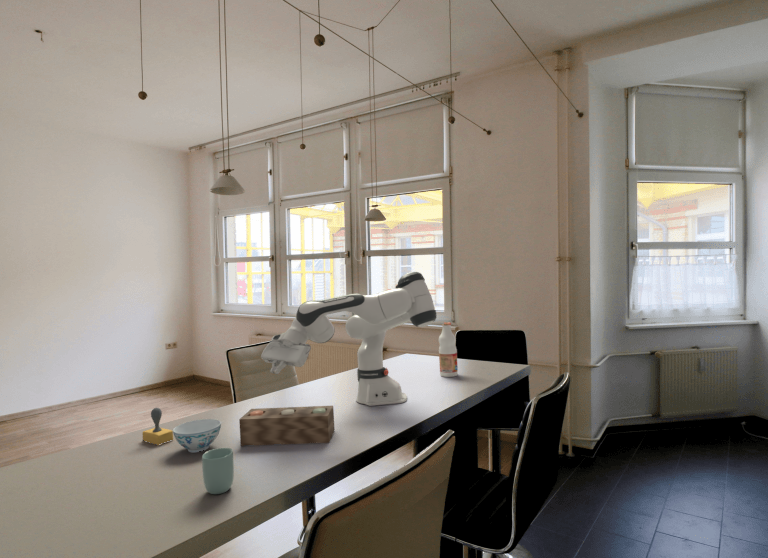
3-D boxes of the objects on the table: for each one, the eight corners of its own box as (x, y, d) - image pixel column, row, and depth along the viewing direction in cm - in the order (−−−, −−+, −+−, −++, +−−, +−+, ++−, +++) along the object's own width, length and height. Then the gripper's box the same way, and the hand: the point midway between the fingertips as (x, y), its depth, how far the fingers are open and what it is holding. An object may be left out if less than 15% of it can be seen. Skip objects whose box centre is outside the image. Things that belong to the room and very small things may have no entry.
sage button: (326, 417, 159) (326, 407, 159) (324, 421, 155) (324, 411, 155) (314, 417, 160) (314, 408, 160) (312, 421, 155) (311, 412, 155)
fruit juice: (437, 374, 245) (435, 322, 244) (454, 372, 246) (451, 321, 246) (443, 378, 235) (440, 324, 235) (460, 376, 237) (457, 323, 237)
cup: (208, 485, 124) (206, 449, 124) (238, 482, 125) (236, 446, 124) (199, 499, 116) (197, 460, 116) (230, 496, 117) (228, 457, 117)
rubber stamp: (142, 441, 162) (140, 408, 162) (157, 436, 167) (156, 404, 167) (158, 446, 157) (156, 411, 157) (173, 440, 162) (171, 407, 162)
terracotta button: (265, 419, 160) (264, 410, 160) (261, 423, 156) (260, 414, 156) (253, 420, 161) (252, 410, 161) (248, 424, 156) (248, 414, 156)
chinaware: (175, 461, 142) (174, 437, 142) (173, 446, 155) (171, 424, 155) (225, 450, 149) (224, 427, 149) (219, 437, 162) (218, 416, 162)
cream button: (296, 418, 160) (295, 409, 160) (293, 422, 156) (292, 412, 156) (283, 419, 160) (283, 409, 160) (280, 423, 156) (279, 413, 156)
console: (334, 430, 163) (333, 405, 163) (329, 442, 151) (327, 415, 151) (252, 433, 165) (251, 408, 164) (240, 445, 153) (239, 419, 152)
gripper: (316, 349, 171) (298, 381, 163) (278, 345, 182) (259, 374, 174) (308, 339, 167) (289, 370, 159) (269, 335, 178) (250, 364, 170)
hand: (273, 372), depth 166 cm, fingers closed
